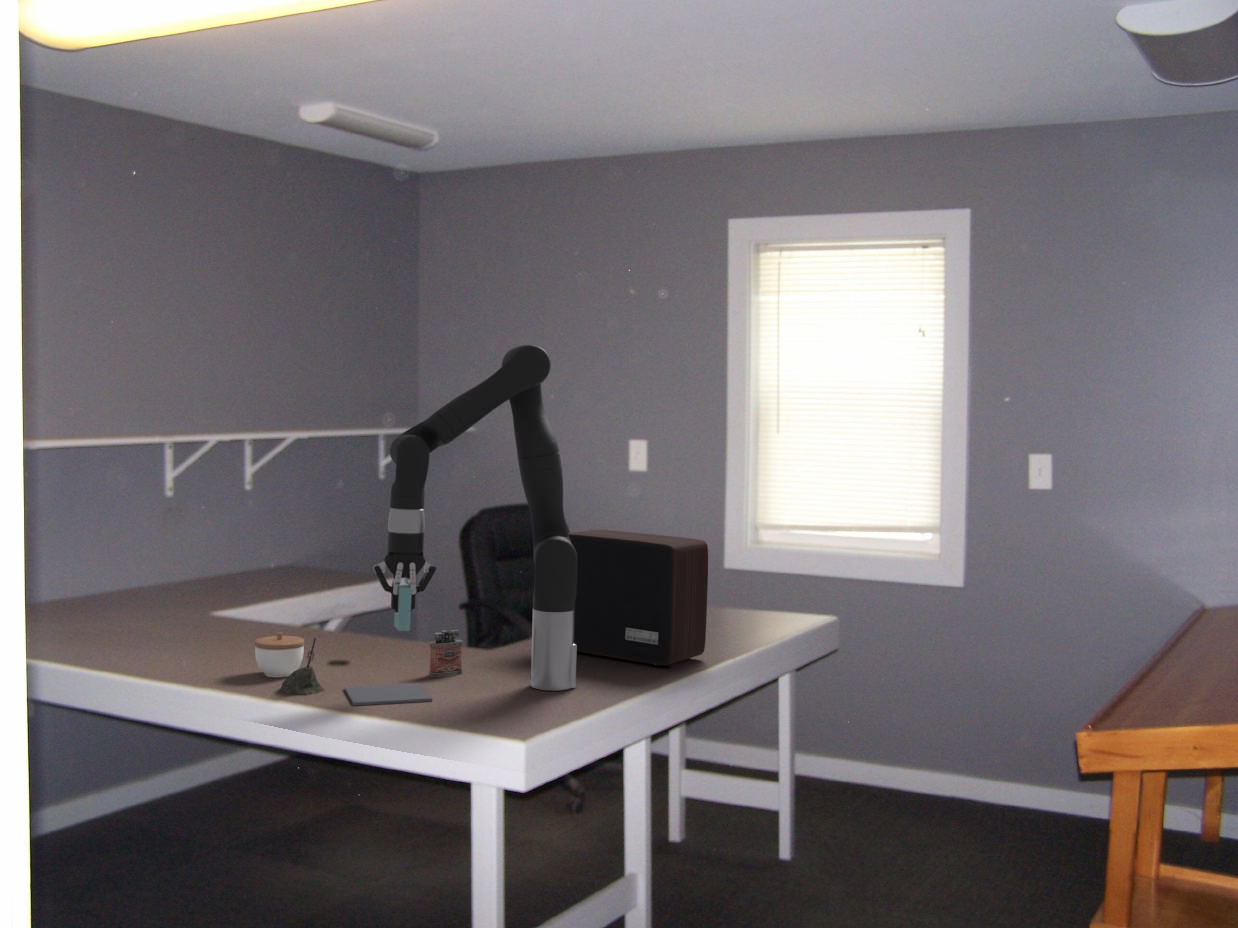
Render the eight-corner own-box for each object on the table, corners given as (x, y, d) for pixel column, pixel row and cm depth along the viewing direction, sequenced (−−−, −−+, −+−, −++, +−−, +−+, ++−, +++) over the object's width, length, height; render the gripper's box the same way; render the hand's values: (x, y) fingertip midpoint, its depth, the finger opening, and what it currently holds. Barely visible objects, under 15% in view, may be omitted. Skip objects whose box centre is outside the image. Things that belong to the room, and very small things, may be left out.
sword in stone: (269, 690, 258) (270, 635, 258) (298, 684, 265) (299, 630, 264) (302, 698, 253) (302, 641, 252) (330, 691, 259) (331, 636, 259)
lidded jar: (285, 667, 280) (285, 626, 280) (313, 674, 274) (314, 633, 273) (244, 674, 272) (245, 632, 272) (272, 682, 265) (273, 639, 265)
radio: (708, 659, 303) (712, 539, 302) (671, 671, 289) (675, 544, 287) (590, 640, 324) (593, 527, 322) (549, 650, 309) (552, 532, 307)
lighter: (433, 677, 274) (434, 633, 274) (426, 674, 277) (427, 630, 276) (464, 673, 279) (465, 630, 278) (457, 670, 282) (458, 628, 281)
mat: (419, 685, 266) (419, 683, 266) (432, 701, 253) (432, 698, 253) (344, 689, 260) (344, 686, 260) (353, 705, 247) (353, 702, 247)
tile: (405, 625, 260) (407, 583, 260) (409, 630, 255) (411, 587, 254) (394, 625, 260) (395, 583, 259) (398, 630, 254) (400, 587, 254)
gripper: (375, 531, 250) (372, 615, 251) (442, 532, 255) (438, 614, 256) (370, 527, 258) (367, 608, 258) (435, 528, 262) (432, 608, 263)
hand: (402, 611), depth 257 cm, fingers closed on tile, 2 cm apart
